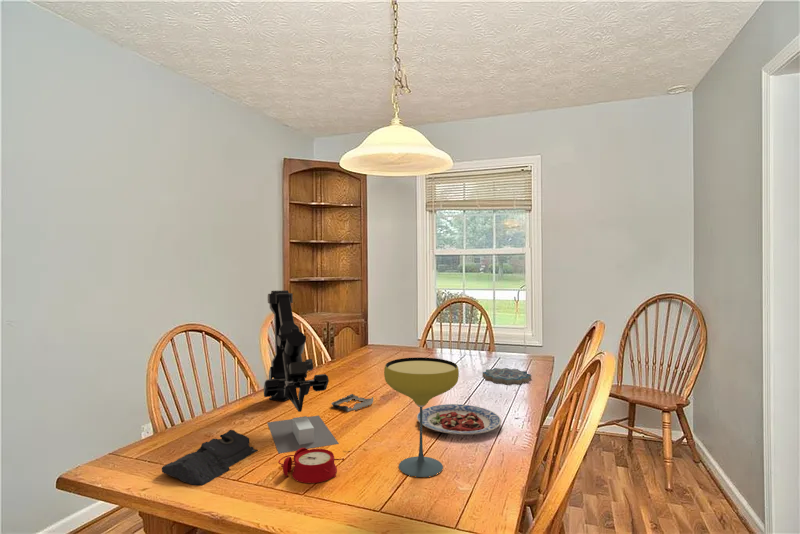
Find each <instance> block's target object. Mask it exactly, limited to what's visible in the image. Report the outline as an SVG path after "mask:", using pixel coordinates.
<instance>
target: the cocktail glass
mask: <svg viewBox="0 0 800 534" xmlns="http://www.w3.org/2000/svg"><path fill="white" fill-rule="evenodd" d="M383 373H384V374H383V375H384V377H383V378H384V381H385V382H386V383H387V385H388V386H389V387H390V388H391V389H392V390H394V391H396V392H397V393H400V394H402V395H404V396H406V397H408V398H410V399H411V400H412V401H413V402H414V404H415V405H416V406H417V407H418V408H419V412H420V422H419V443H418V444H419V445H418V446H419V449H418V456H417V455H416V456H411V457H407V458H404V459H403V460H401V461H400V462H399V464H398V469H399V471H400V470H401V471H402V472H403V474H404V473H405V474H404V475H406V474H407V475H406V476H408V475H410V476H409V477H412V476H416V477H415V478H418V477H427V478H430V477H429V476H432V477H434V476H433V475H436V474H437V473H439V472H441V471H442V472H443V470H444V465H443V463H442V462H441V461H439V460H438V459H436V458H433V457H428V456H424V452H423V451H424V449H423V448H424V447H423V425H422V410H423V408H425V406H426V405H428V403H429V401H430V400H432V399H433V398H436V397H437V396H440V395H442V394H445V393H447V392H449V391H451V389H453V388H454V387H455V386H456V385H457V383H458V382H459V377H460V376H459V375H460V371H459V367H458V365H457V364H456V363H455V362H453V361H450V360H447V359H443V358H437V357H421V356H420V357H419V356H418V357H405V358H404V357H403V358H397V359H393V360H390V361H388V362H386V364H385V365H384V369H383ZM442 469H443V470H442ZM401 471H400V472H401ZM402 472H401V473H402ZM442 472H441V473H442ZM439 474H440V473H439ZM436 476H437V475H436Z"/></svg>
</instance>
